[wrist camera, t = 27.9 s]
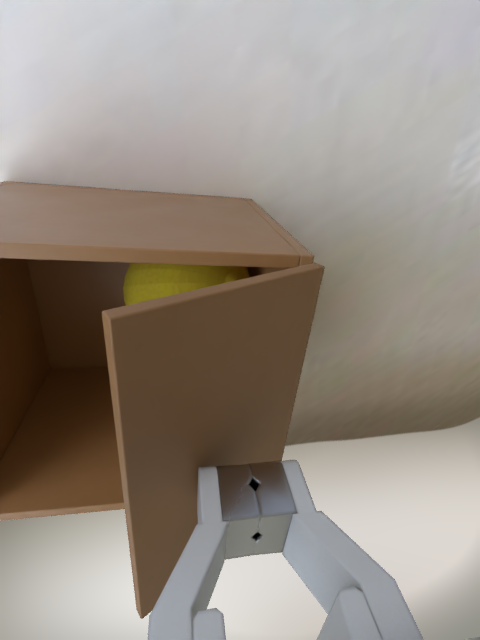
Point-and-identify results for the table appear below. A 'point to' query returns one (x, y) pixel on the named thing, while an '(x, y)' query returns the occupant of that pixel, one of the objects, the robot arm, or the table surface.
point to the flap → (200, 399)
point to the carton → (92, 322)
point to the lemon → (174, 279)
